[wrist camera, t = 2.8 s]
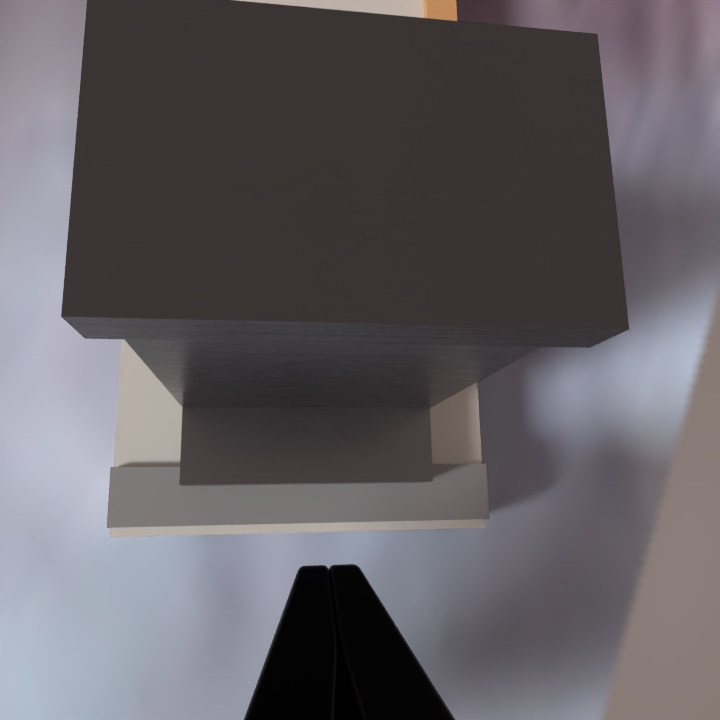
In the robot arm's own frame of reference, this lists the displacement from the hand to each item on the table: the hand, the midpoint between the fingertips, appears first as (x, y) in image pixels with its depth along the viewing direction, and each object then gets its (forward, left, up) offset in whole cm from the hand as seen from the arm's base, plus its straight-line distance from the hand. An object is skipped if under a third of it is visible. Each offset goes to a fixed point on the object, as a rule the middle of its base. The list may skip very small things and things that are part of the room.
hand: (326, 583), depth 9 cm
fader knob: (+4, 0, -4) cm, 6 cm away
